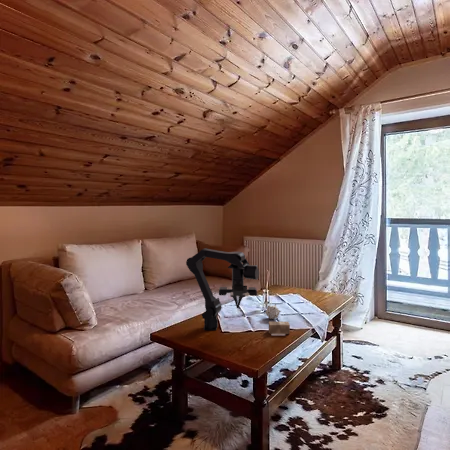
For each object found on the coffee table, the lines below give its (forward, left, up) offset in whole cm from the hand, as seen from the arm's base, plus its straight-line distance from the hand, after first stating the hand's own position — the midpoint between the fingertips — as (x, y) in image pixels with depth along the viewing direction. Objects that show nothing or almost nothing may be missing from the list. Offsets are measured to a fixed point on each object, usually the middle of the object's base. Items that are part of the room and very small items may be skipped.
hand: (237, 307), depth 177 cm
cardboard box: (+16, +1, -10) cm, 19 cm away
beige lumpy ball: (+20, +20, -13) cm, 31 cm away
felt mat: (+20, +1, -13) cm, 24 cm away
